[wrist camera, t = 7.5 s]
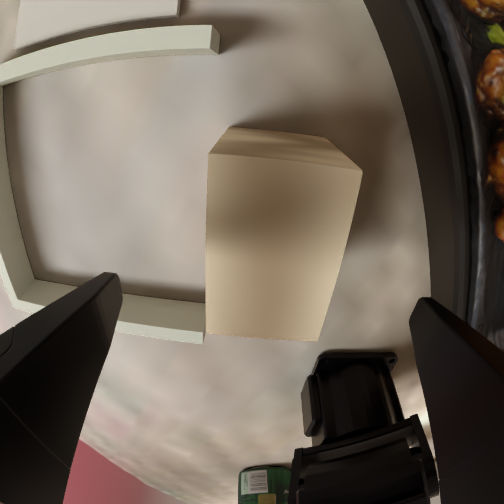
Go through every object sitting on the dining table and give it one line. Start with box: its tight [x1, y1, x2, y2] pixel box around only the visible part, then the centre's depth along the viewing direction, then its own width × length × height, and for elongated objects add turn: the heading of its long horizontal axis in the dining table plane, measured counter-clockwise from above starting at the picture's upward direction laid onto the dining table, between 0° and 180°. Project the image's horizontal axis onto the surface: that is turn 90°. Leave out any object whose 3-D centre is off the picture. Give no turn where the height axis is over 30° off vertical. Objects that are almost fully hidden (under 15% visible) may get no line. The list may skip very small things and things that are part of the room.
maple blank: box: [206, 127, 363, 341], centre depth 13 cm, size 4×7×6 cm, turn 175°
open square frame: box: [0, 25, 220, 344], centre depth 14 cm, size 14×16×2 cm
